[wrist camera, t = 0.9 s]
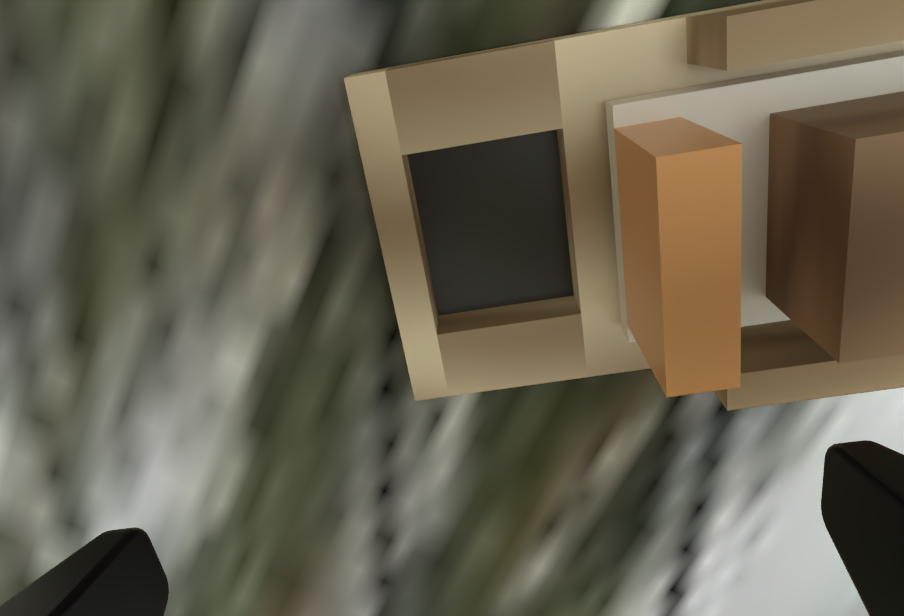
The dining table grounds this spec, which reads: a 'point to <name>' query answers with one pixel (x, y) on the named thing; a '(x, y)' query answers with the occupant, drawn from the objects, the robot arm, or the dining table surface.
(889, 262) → the block
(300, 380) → the dining table surface
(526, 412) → the dining table surface
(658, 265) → the sled
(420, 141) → the deck
